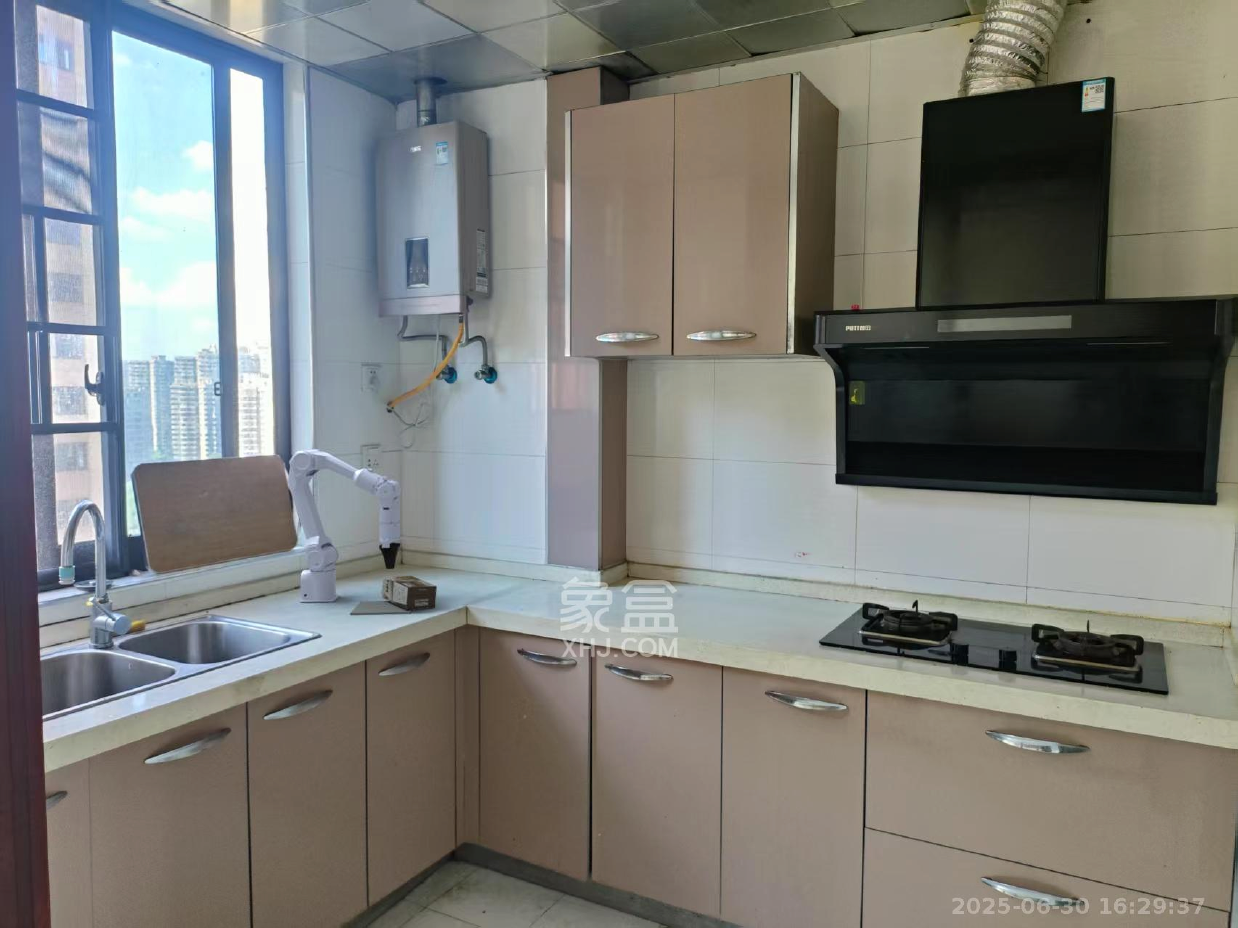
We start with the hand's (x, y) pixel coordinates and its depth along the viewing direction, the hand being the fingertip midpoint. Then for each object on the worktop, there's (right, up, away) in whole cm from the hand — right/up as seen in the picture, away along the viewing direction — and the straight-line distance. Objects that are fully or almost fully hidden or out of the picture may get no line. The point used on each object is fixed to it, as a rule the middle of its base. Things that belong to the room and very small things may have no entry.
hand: (390, 568), depth 248 cm
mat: (+1, -10, -9) cm, 14 cm away
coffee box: (+2, -5, +1) cm, 6 cm away
